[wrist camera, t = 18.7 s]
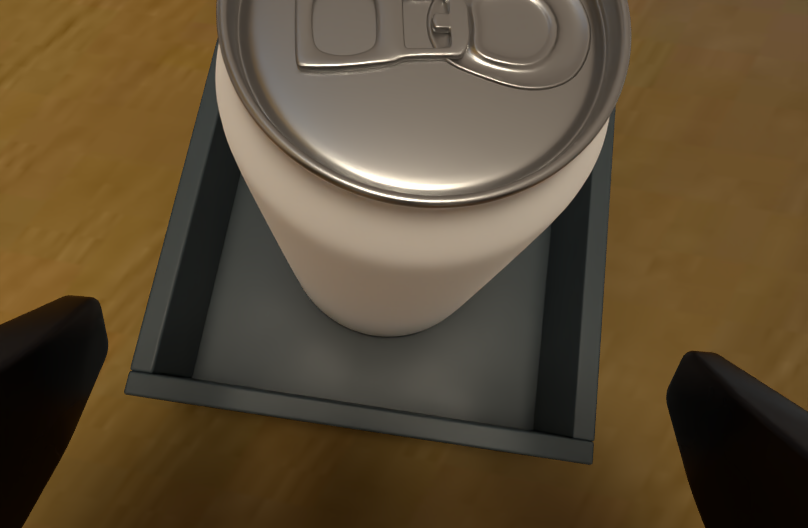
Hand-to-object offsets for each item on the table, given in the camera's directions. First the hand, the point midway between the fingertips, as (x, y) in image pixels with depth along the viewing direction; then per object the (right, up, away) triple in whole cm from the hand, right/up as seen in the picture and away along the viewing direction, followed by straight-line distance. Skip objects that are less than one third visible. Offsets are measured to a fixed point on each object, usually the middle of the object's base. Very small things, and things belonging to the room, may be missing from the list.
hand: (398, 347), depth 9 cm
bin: (0, +2, +11) cm, 11 cm away
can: (-1, +2, +11) cm, 11 cm away
